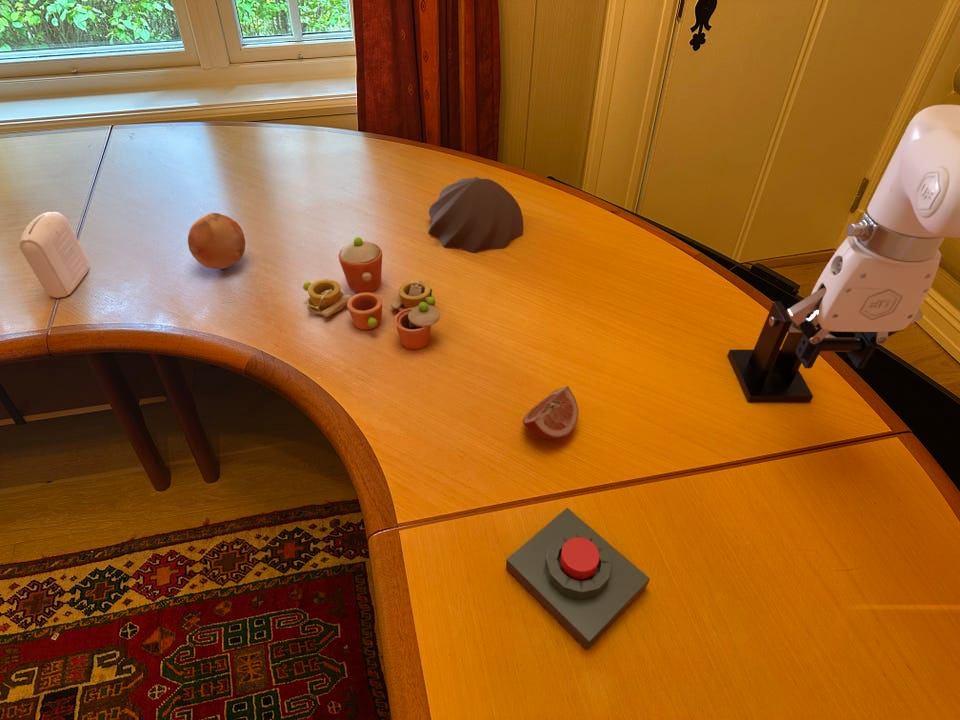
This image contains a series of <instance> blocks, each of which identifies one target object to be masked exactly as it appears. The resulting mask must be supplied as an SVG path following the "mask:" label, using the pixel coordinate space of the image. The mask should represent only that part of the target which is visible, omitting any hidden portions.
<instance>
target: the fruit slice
mask: <svg viewBox="0 0 960 720" xmlns="http://www.w3.org/2000/svg"><path fill="white" fill-rule="evenodd" d="M578 419H579V406H578V403H577V399H576V397H575V395H574V393H573V392H572V389H571V388H570V387H569V385H567V386H564V387H561V388H558V389H555V390H553V391H552V392H551V393H549V395H547V396H546V397H545V398H543V399H542V400H541V401H540V402H538V403H537V404H536V405H535V406H533V407H532V408H531V409H530V410H529V411H528V412H527V413H526V414H525V415H524V417H523V419H522V424H523V425H524V427H525V428H526V429H527V430H528V431H529V432H530V433H532V434H533V435H535V436H536V437H538V438H541V439H548V440H552V439H559V438H563V437H565V436H567V435H569V434H570V433H571V432H572V431H573V430H574V428H575V427H576V424H577V422H578Z"/></svg>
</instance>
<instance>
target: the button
mask: <svg viewBox="0 0 960 720" xmlns="http://www.w3.org/2000/svg"><path fill="white" fill-rule="evenodd" d="M599 559H600V555H599V551H598V549H597V547H596V546H595V544H594V543H592V542H591V541H590V540H588V539H585V538H581V537H576V538H572V539H570V540H568V541H567V542H566V543H565V544H564V545H563V548H562V552H561V557H560V563H561V566H562V569H563V570H564V571H565V573H566V574H567V575H569V576H570V577H572V578H575V579H587V578H590V577H591V576H592V575H594V573H595V572H596V570H597V567H598V563H599Z"/></svg>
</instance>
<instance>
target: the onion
mask: <svg viewBox="0 0 960 720" xmlns="http://www.w3.org/2000/svg"><path fill="white" fill-rule="evenodd" d="M187 245H188V249H189V252H190V254H191V256H192V257H193V258H194V259H195V260H196V261H197V262H198V263H199V264H200V265H202V267H203V266H204V267H205V268H208V269H212V270H221V269H222V270H223V269H228V268H230V267H232V266H233V265H236V264H237V263H238V262H239V261H241V260H242V258H243V256H244V254H245V251H246V237H245V234H244V231H243V229H242V227H241V225H240V224H239V223H238V222H237V221H236V220H234V219H233V218H232V217H230V216H228V215H225V214H222V213H219V212H210V213H207V214H204V215H202V216H200V217H199V218H198V219H196V220H195V221H194V222H193V223H192V224H191V226H190V228H189V230H188V234H187Z"/></svg>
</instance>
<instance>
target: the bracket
mask: <svg viewBox="0 0 960 720" xmlns="http://www.w3.org/2000/svg"><path fill="white" fill-rule="evenodd" d="M815 311H816V310H814V311H813V312H811V313H809V314H808V315H807V318H809V317H810V316H811V315H812V314H813V313H814V312H815ZM791 324H792V320H791V318H790V316H789V315H788V313H787V310H786V308H785V306H784V305H783V303H782V301H773V302H772V305H771V307H770V309H769V312H768V314H767V316H766V318H765V320H764V324H763V326H762V329H761V331H760V334H759V336H758V337H757V341H756V343H755V344H754V345H755V346H754V348H753V349H729V350H728V353H727V358H728V361H729V362H730V365H731V367H732V370H733V372H734V374H735V376H736V379H737V382H738V383H739V385H740V387H741V391H742V392H743V395H744V396H745V399H746V401H747V403H811V402H812V400H813V398H814V395H813V393H812V391H811V389H810V387H809V386H808V384H807V382H806V380H805V379H804V377H803V374H802V373H801V371H800V370H799V369H800V368H801V366H802V362H801V361H800V359H799V358H798V356H797V355H796V348H797V346H798V344H799V342H800V340H801V338H802V336H803V334H804V333H803V332H788V330H789V328H790V326H791ZM819 327H820V324H818V325H817V326H816V328H819Z"/></svg>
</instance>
